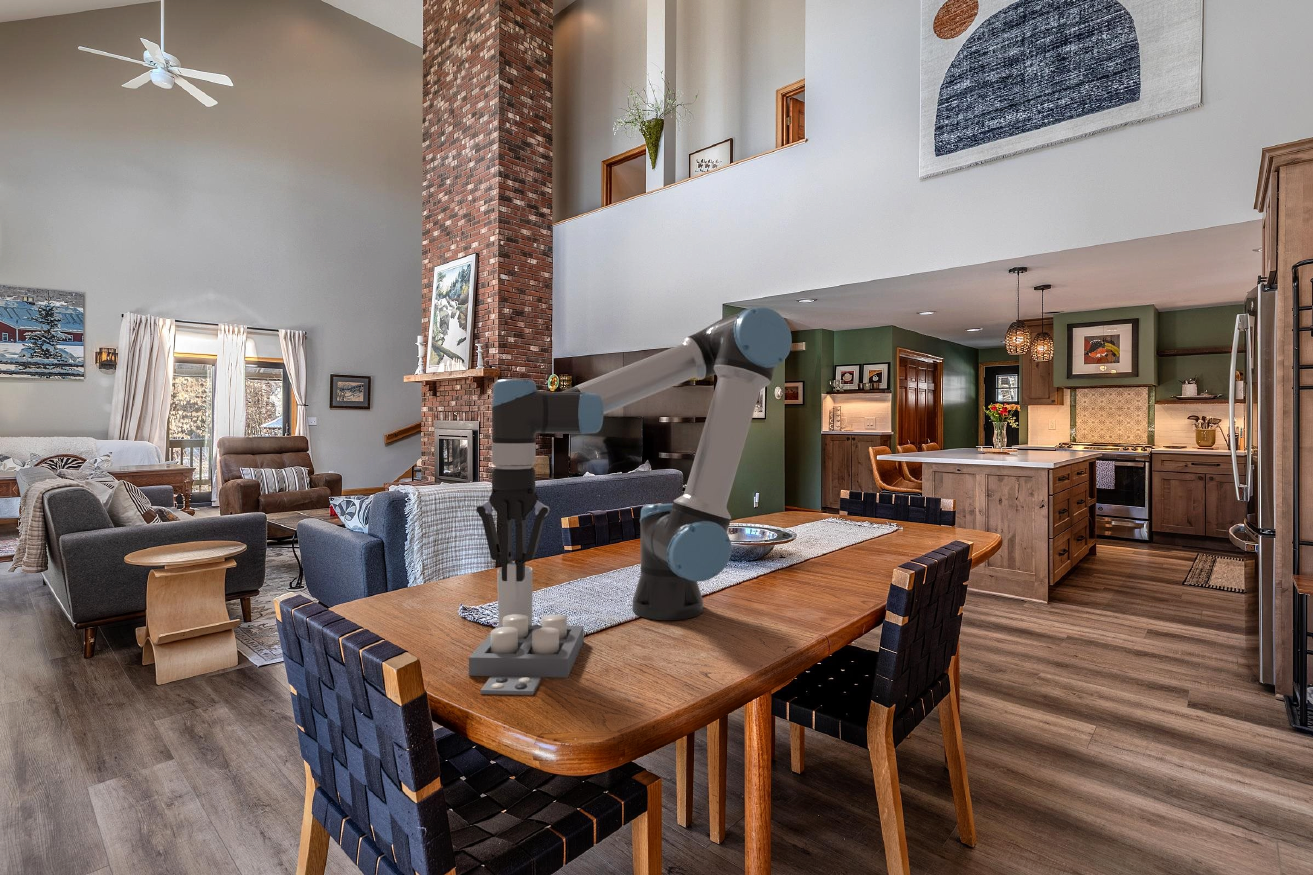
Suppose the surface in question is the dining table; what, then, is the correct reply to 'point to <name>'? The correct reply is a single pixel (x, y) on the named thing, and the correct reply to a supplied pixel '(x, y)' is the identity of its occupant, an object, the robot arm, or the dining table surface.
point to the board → (528, 657)
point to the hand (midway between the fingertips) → (513, 598)
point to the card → (511, 685)
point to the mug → (522, 603)
